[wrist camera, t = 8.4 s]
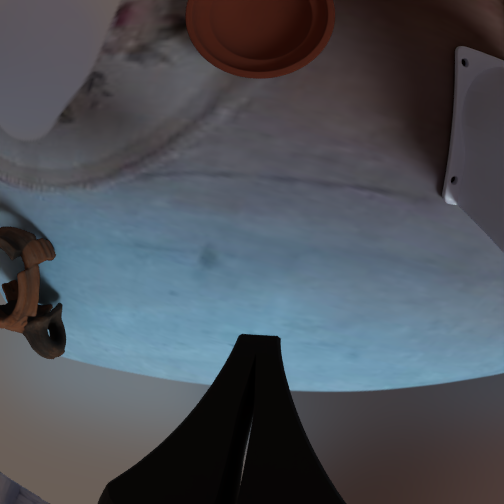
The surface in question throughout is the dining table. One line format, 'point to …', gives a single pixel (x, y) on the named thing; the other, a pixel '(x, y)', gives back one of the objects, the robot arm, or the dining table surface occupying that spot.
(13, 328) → the broken clay jug rim
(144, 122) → the dining table surface
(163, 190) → the dining table surface
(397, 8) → the dining table surface
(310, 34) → the pottery
